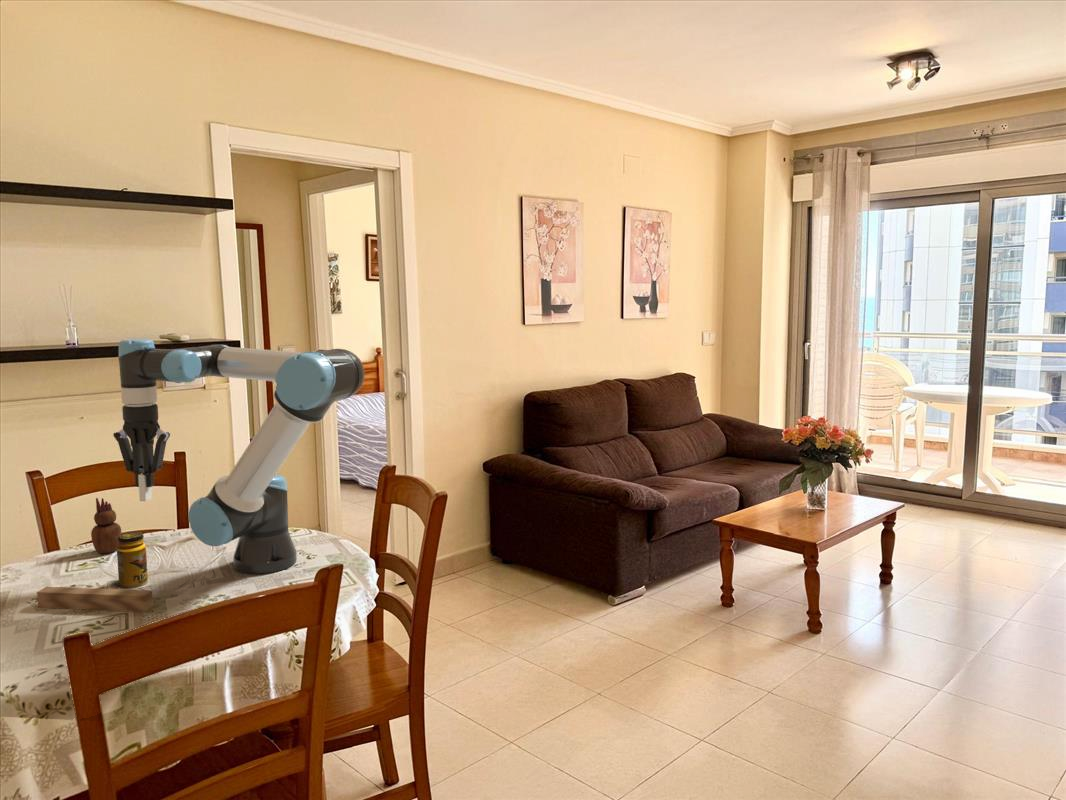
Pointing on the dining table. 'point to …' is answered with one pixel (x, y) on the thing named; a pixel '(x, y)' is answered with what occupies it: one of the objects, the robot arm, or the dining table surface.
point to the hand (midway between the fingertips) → (145, 499)
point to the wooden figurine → (105, 529)
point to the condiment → (131, 562)
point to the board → (95, 599)
